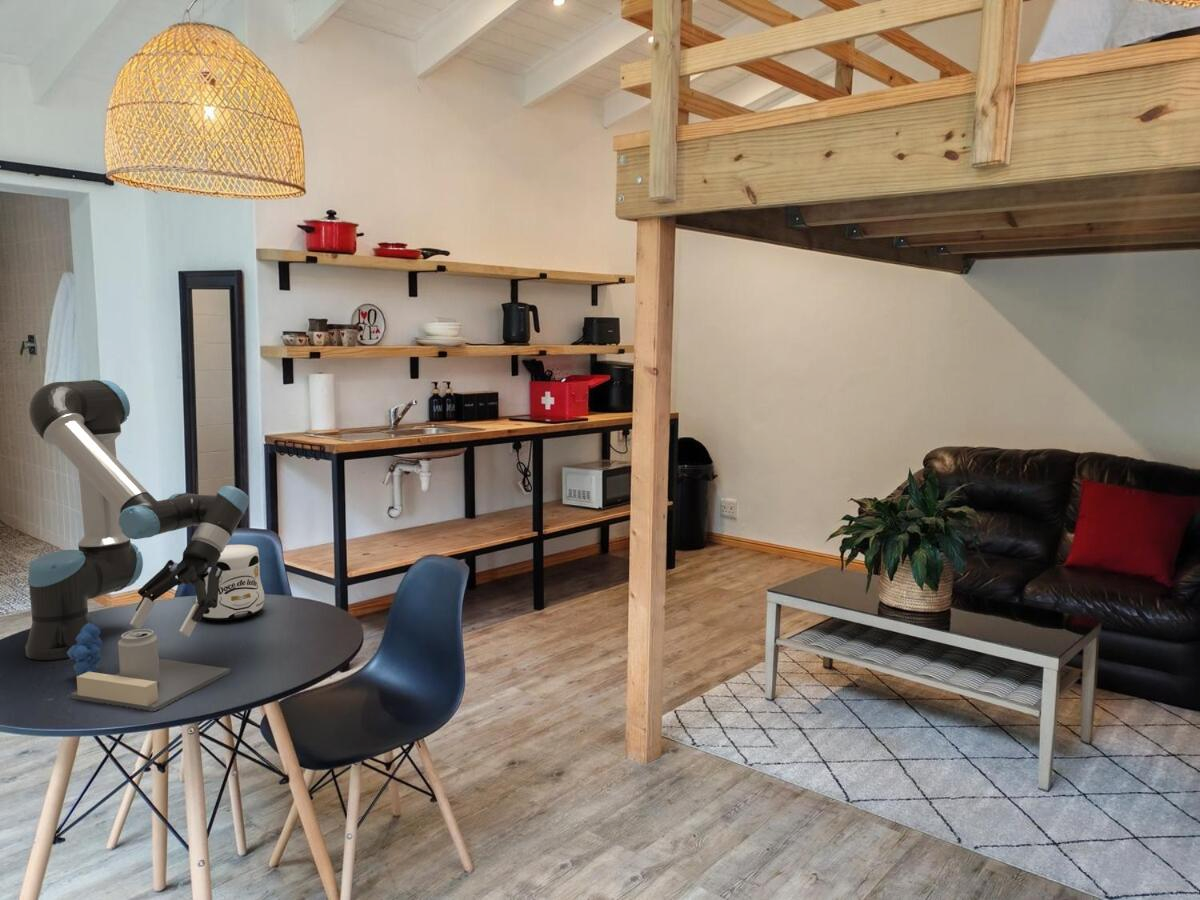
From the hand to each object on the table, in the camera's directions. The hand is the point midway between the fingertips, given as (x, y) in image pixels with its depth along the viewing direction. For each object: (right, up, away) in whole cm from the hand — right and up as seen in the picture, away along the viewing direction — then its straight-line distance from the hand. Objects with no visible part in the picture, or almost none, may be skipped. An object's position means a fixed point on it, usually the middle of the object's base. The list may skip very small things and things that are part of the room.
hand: (158, 630), depth 192 cm
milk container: (-5, -6, +49) cm, 50 cm away
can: (-2, -12, -3) cm, 12 cm away
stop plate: (-1, -12, 0) cm, 12 cm away
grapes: (-19, -12, +5) cm, 23 cm away
